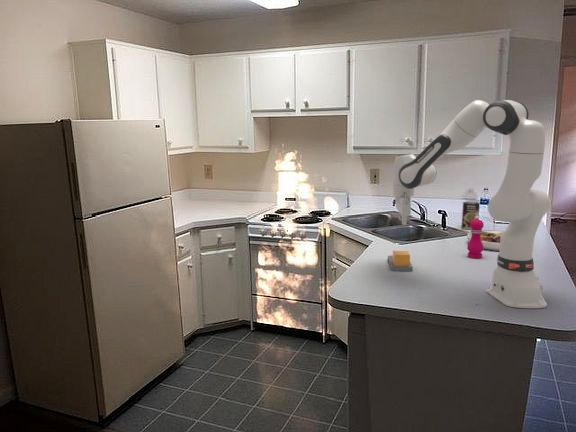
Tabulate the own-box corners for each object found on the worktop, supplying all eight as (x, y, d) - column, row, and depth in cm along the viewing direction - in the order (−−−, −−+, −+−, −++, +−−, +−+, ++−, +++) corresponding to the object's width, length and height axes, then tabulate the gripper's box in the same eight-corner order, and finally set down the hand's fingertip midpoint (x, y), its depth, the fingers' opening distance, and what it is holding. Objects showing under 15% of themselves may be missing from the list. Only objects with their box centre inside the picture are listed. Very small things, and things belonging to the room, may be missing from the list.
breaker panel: (412, 271, 202) (412, 265, 202) (391, 270, 203) (391, 264, 203) (406, 260, 219) (407, 254, 218) (387, 259, 220) (387, 254, 219)
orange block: (409, 265, 203) (410, 255, 202) (394, 265, 204) (394, 254, 203) (407, 261, 210) (407, 250, 209) (392, 261, 210) (392, 250, 209)
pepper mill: (484, 259, 218) (487, 217, 214) (468, 258, 220) (470, 217, 216) (481, 255, 225) (483, 214, 221) (465, 254, 227) (467, 214, 223)
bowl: (465, 237, 262) (466, 223, 260) (524, 240, 252) (525, 226, 251) (468, 251, 234) (469, 236, 232) (534, 255, 224) (536, 239, 223)
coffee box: (461, 229, 279) (463, 203, 276) (461, 227, 285) (462, 201, 282) (478, 230, 276) (479, 203, 273) (477, 228, 282) (478, 202, 279)
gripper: (414, 194, 190) (413, 227, 193) (407, 188, 210) (406, 217, 213) (399, 194, 191) (398, 227, 193) (393, 188, 211) (392, 217, 213)
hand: (402, 222), depth 203 cm, fingers open, 8 cm apart
